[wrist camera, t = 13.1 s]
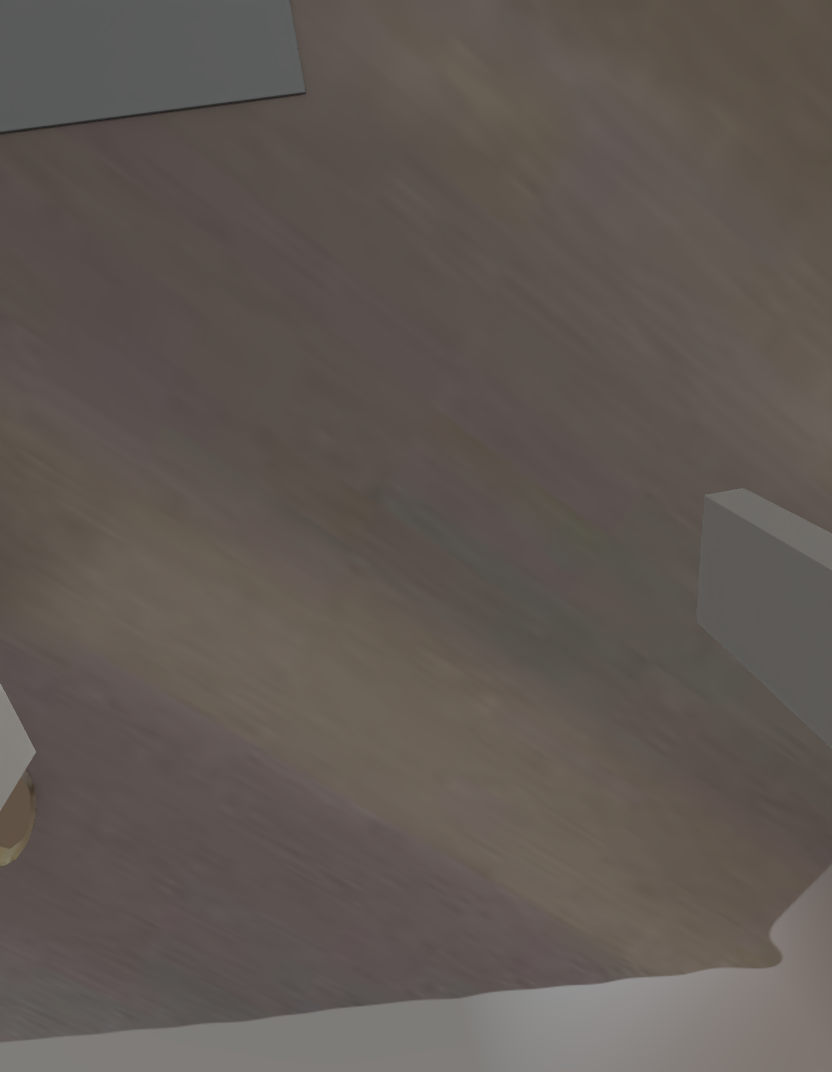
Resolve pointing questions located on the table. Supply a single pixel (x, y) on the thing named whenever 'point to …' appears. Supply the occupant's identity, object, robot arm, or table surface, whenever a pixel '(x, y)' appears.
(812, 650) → the robot arm
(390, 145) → the table surface
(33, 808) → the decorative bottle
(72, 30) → the rubber mat
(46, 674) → the table surface
